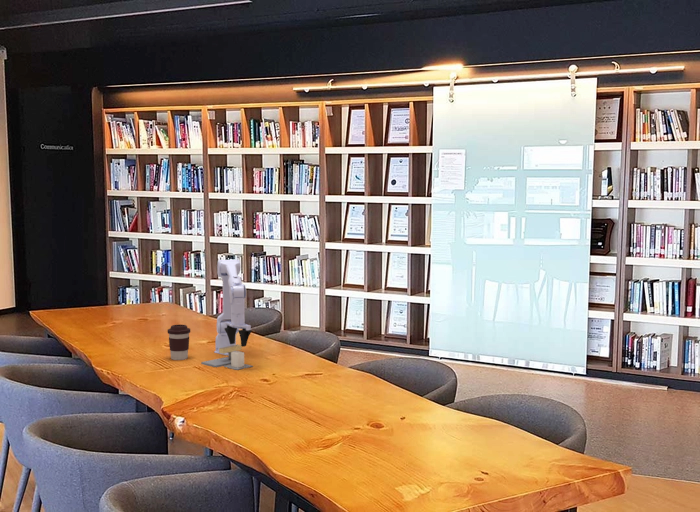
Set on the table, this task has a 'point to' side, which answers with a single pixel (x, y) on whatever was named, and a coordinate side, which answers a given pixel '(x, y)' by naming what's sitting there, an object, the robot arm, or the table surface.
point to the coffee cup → (179, 341)
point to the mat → (239, 367)
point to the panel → (219, 361)
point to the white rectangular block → (237, 359)
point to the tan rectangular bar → (230, 349)
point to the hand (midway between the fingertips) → (238, 345)
